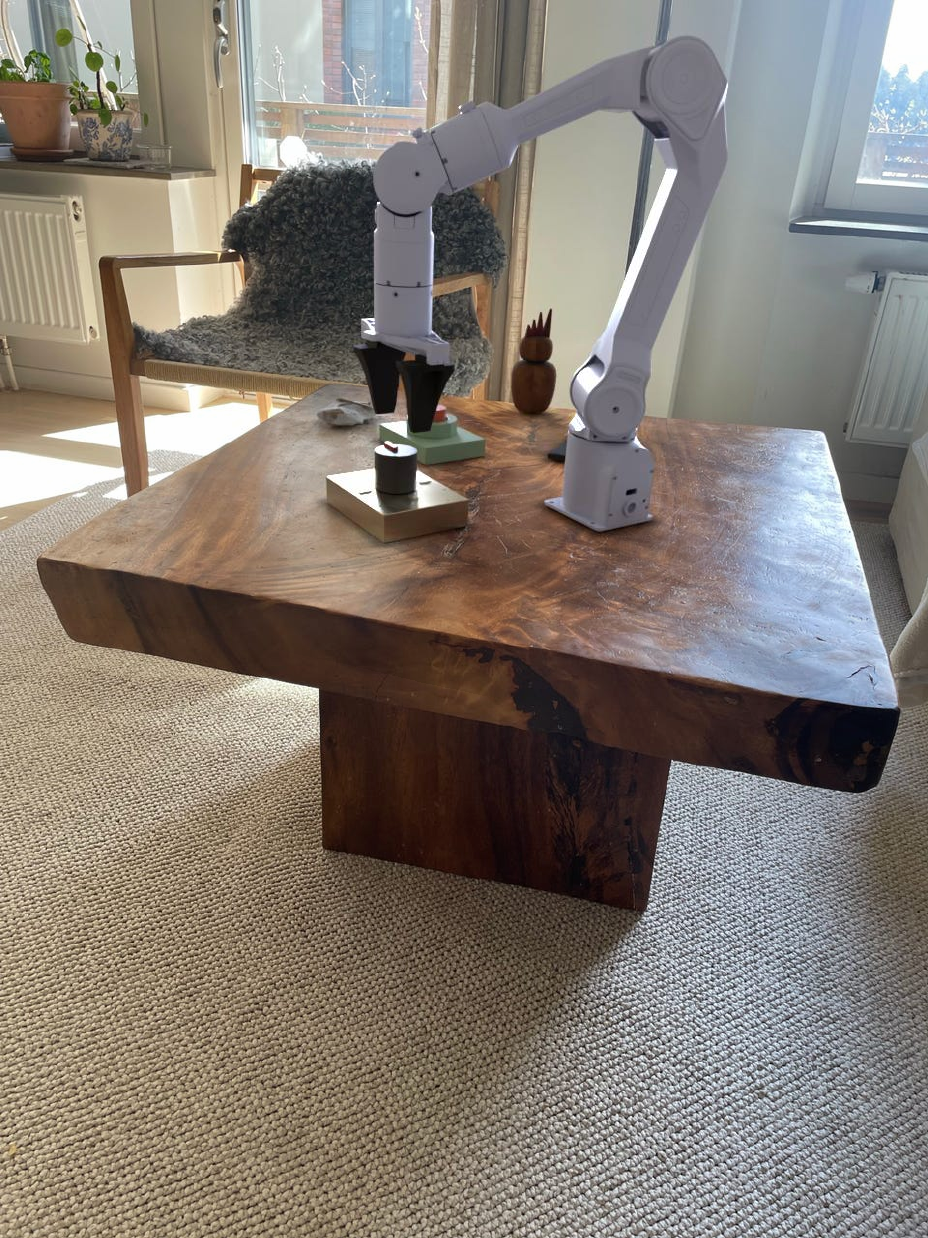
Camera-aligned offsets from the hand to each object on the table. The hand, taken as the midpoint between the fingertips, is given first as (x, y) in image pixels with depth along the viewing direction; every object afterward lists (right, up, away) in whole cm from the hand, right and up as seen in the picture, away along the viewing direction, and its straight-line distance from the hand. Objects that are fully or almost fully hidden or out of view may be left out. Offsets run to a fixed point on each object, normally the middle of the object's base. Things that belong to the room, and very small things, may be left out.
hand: (401, 421), depth 92 cm
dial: (-1, -7, +1) cm, 7 cm away
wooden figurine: (+17, +11, +44) cm, 48 cm away
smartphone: (+23, +2, +27) cm, 36 cm away
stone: (-10, +8, +34) cm, 36 cm away
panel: (-1, -9, +3) cm, 10 cm away
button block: (+2, +2, +24) cm, 25 cm away
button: (+2, +5, +23) cm, 23 cm away
